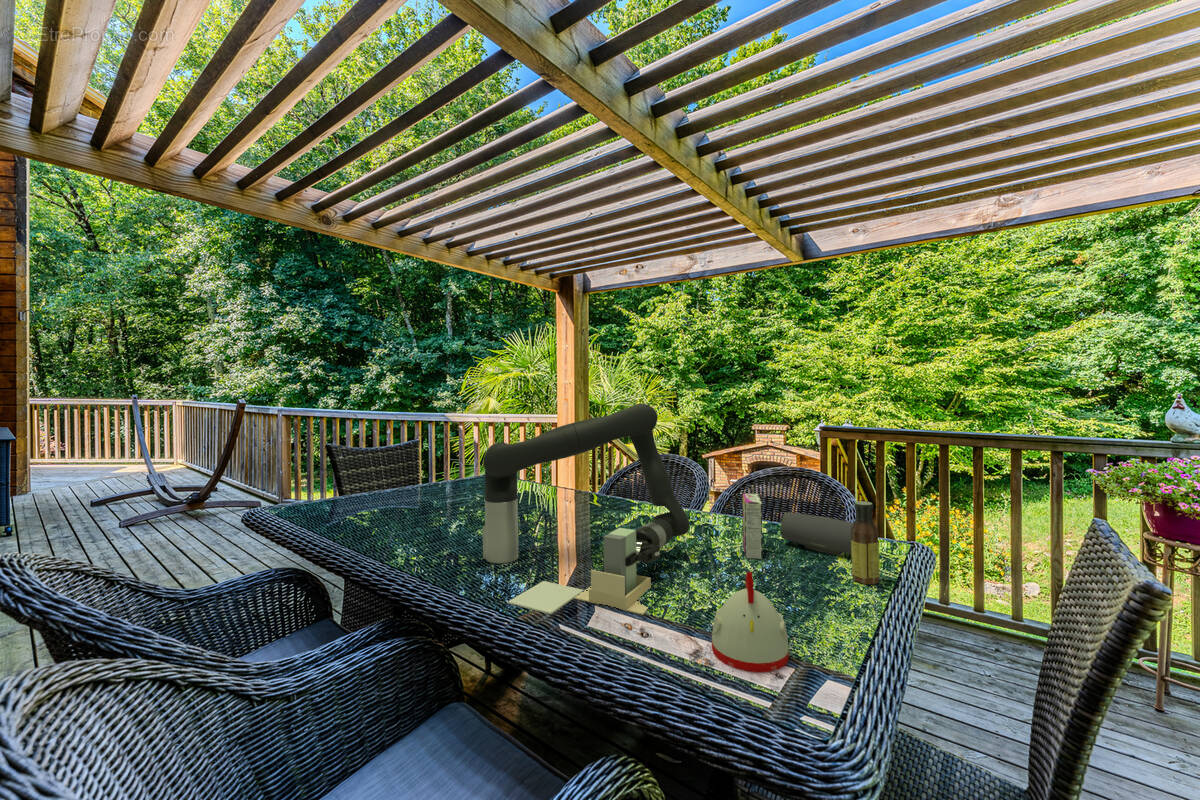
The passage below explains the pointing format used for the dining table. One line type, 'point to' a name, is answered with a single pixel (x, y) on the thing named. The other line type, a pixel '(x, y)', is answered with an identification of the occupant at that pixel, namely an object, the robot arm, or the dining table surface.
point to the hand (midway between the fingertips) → (617, 560)
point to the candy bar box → (752, 526)
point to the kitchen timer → (750, 632)
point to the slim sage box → (620, 555)
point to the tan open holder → (615, 591)
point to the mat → (546, 597)
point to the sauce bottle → (865, 545)
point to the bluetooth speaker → (817, 532)
